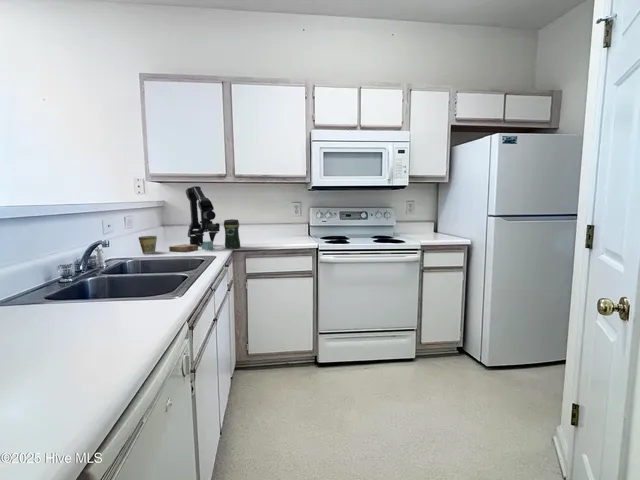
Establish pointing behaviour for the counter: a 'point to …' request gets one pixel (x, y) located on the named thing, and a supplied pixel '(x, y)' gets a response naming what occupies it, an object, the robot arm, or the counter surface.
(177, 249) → the walnut plinth
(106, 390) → the counter surface
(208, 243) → the teal cube
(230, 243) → the coffee jar
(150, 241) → the ceramic cup
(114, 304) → the counter surface
